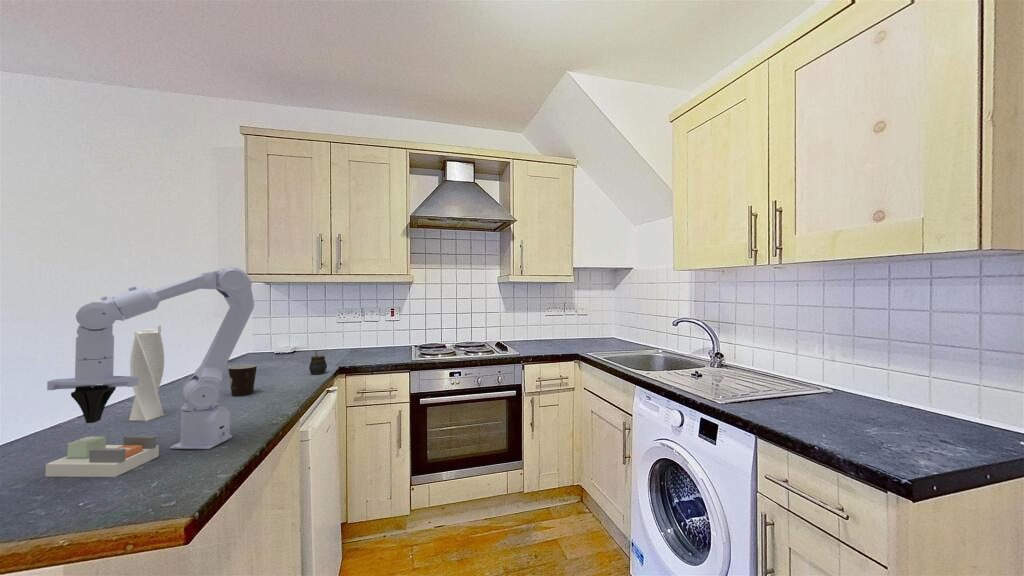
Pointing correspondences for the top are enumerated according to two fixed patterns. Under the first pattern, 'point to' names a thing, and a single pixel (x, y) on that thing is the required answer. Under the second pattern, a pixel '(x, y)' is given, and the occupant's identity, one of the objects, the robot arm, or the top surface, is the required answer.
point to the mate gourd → (317, 364)
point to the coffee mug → (242, 379)
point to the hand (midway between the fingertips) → (93, 421)
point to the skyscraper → (147, 374)
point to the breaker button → (131, 450)
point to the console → (105, 460)
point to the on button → (84, 447)
